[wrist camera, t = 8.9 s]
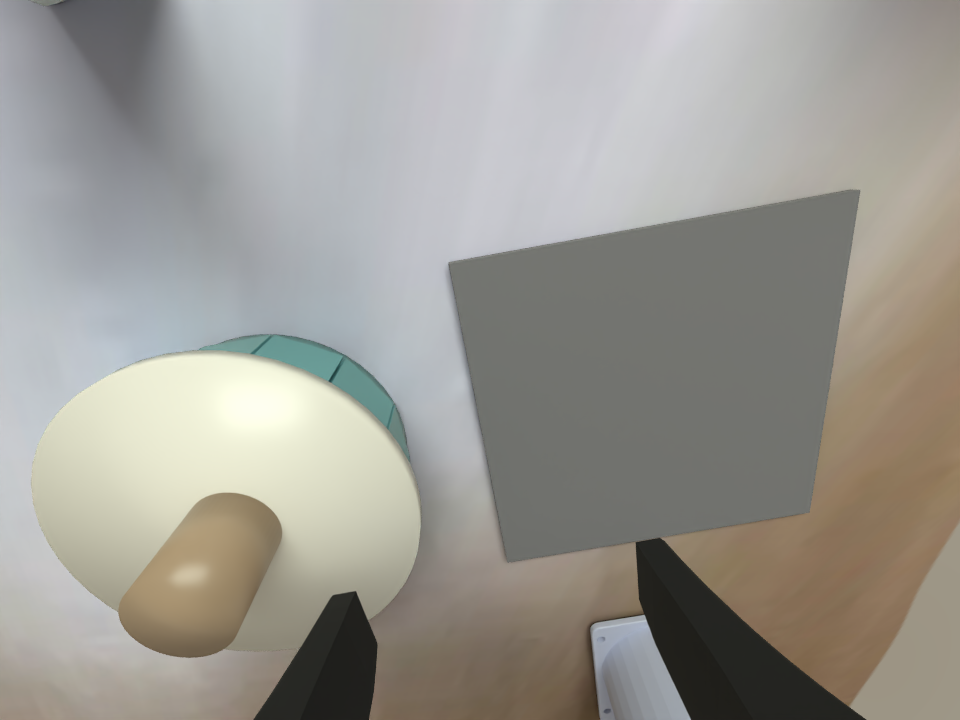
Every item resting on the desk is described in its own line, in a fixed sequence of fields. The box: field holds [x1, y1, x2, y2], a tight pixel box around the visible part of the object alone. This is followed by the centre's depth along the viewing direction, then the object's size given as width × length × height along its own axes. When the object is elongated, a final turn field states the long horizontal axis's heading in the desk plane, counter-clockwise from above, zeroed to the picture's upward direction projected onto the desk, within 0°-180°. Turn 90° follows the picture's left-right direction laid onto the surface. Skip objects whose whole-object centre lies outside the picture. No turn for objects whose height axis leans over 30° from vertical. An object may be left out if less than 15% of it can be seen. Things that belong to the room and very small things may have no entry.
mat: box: [449, 190, 860, 562], centre depth 21 cm, size 16×16×1 cm
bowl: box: [199, 334, 410, 461], centre depth 19 cm, size 11×11×4 cm
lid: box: [31, 350, 422, 658], centre depth 15 cm, size 13×13×4 cm
